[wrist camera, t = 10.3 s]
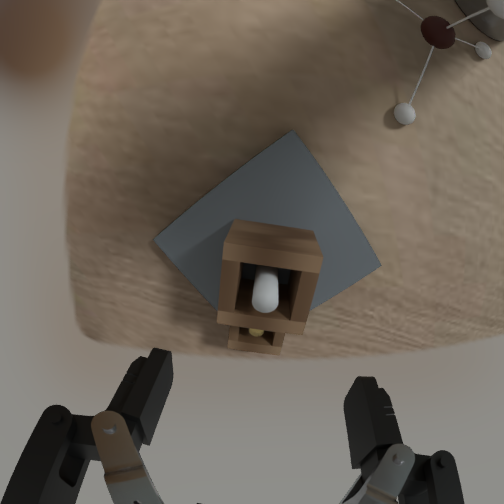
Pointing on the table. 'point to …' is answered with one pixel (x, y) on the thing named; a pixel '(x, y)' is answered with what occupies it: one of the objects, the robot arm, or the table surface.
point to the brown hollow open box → (289, 296)
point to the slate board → (271, 212)
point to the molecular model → (444, 47)
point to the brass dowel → (256, 332)
